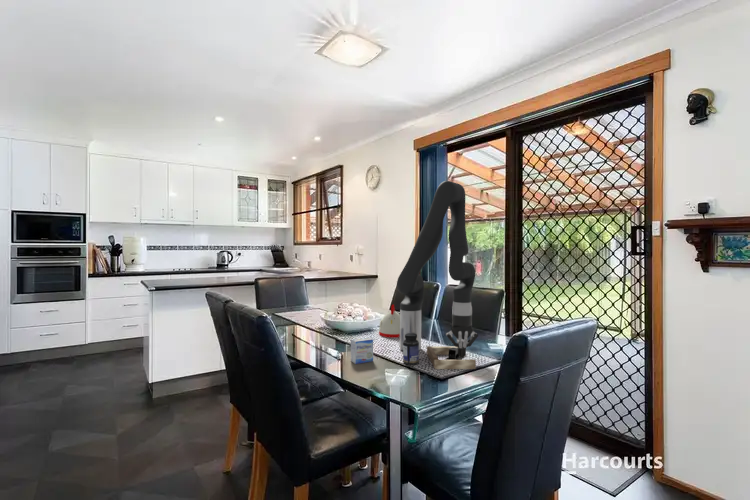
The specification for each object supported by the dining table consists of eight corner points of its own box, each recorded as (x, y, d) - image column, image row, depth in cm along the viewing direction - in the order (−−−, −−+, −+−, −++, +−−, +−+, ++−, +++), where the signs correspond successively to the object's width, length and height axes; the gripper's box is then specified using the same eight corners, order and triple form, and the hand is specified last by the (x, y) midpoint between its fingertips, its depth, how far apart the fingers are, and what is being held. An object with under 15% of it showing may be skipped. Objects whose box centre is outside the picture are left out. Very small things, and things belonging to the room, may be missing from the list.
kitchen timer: (377, 337, 186) (377, 306, 185) (381, 330, 199) (381, 302, 199) (405, 338, 183) (405, 307, 183) (407, 331, 197) (407, 302, 197)
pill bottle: (420, 361, 148) (420, 333, 148) (417, 365, 143) (417, 336, 142) (405, 359, 150) (405, 331, 150) (401, 364, 145) (401, 335, 144)
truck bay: (434, 369, 139) (435, 359, 139) (426, 353, 158) (426, 345, 158) (475, 368, 139) (475, 359, 139) (462, 353, 158) (462, 345, 158)
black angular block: (451, 355, 158) (451, 344, 158) (468, 358, 154) (468, 346, 154) (439, 362, 148) (439, 350, 148) (456, 366, 144) (456, 353, 144)
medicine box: (355, 364, 144) (355, 341, 144) (350, 361, 148) (350, 339, 148) (373, 361, 148) (373, 339, 148) (368, 358, 152) (368, 336, 152)
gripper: (475, 311, 152) (475, 354, 153) (443, 311, 152) (443, 354, 152) (481, 314, 145) (481, 359, 145) (447, 315, 145) (447, 360, 145)
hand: (461, 356), depth 149 cm, fingers closed
